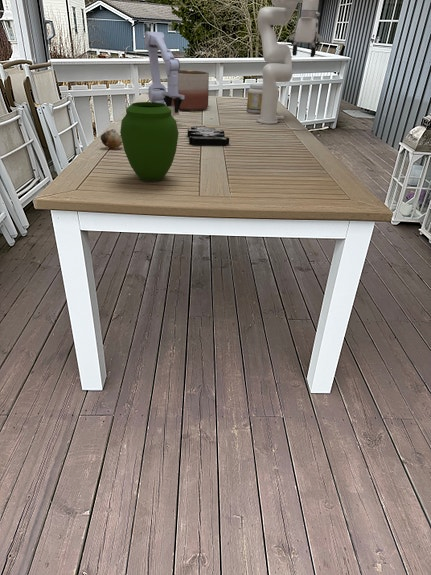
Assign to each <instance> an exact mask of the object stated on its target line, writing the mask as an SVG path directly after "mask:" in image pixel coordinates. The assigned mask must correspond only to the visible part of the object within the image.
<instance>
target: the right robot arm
mask: <svg viewBox="0 0 431 575" xmlns="http://www.w3.org/2000/svg"><path fill="white" fill-rule="evenodd" d="M270 1H271V4H272V5H273V6H263V7H262V8H260V9H259V10H258V14H257V19H256V22H257V28H258V32H259V35H260V39H261V47H262V56H263V60H264V61H265V63H267V64H265V65H264V66H263V68H262V84H263V91H262V102H261V113H259V118H257V119H256V122H257V123H259V124H266V125H275V124H278V122H279V120H284V115H278V114H277V111H278V102H279V92H280V91H279V87H278V84H277V83H288V82H290V81H291V80H292V78H293V73H294V71H293V69H294V68H293V60H292V56H297V54H298V45H299V43H305V44H311V50H310V56H309V57H310V58H314V57H315V56H316V52H317V48H318V46H320V45H321V43H322V42H323V39H324V37H323V36H322V35H320V34H319V19H318V17H320V15H321V12H319V4H320V0H270ZM298 4H301V11H300V18H299V19H298V22H297V25H296V30H295V32H293V33H292V34H290V35H289V36H288V37H289V38H288V39H289V42H290V44H291V46H292V52H291V48H290V46H289V45H287V44H283V43H278V40H277V33H276V32H275V30H274V28H272V26H282V27H284V26H287V24H288V23H289V22H290V20H291V18H292V16H293V14H294V12H295V10H296V9H297V7H298Z"/></svg>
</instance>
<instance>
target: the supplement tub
mask: <svg viewBox="0 0 431 575" xmlns="http://www.w3.org/2000/svg"><path fill="white" fill-rule="evenodd" d="M262 91H263V83H250V84H249V88H248V90H247V102H246V111H247V112H248V113H250V114H251V113H252V114H260V113H261V102H262Z"/></svg>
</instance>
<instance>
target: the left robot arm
mask: <svg viewBox="0 0 431 575" xmlns="http://www.w3.org/2000/svg"><path fill="white" fill-rule="evenodd" d="M143 37H144V38H143V39H144V47H145V50H146V51H147V53H148V59H149V68H150V75H151V82H152V83H151V85H149V86H148V89H147V90H148V92H147V93H148V94H147V95H148V100H149V102H156V103H162V104H165V105H166V106H167V107H168V106H171V103H172V98H176V99H173V101H174V106H175V113H178V111H179V112H180V110H179V107H180V104H181V102H182V99H185V95H181V94H179V93H178V71H179V70H181V62H180V60H179V58H176V57H175V56H174V54H173V52H172V50H171V49H169V48H168V47H167V45H166V42H165V40H166V38H165V34H164V33H163V32H162V31H149V30H146V31H145V33H144V36H143ZM159 51H160V56H161V59H162V60H163V62H164V67H165V68H164V69H165V74H166V76H167V83H166V84H167V88H166V86H165V84H163V83H162V80H161V70H160V64H159V55H158V52H159ZM172 96H175V97H172Z"/></svg>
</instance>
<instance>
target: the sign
mask: <svg viewBox="0 0 431 575" xmlns="http://www.w3.org/2000/svg"><path fill="white" fill-rule="evenodd" d="M187 138H188V144H189V145H192V146H212V147H213V146H215V147H216V146H217V147H222V146H223V147H226V146H227V145H228V146H229V145H230V137H229V136H226V135H225V131H224V130H222V129H216V128H214V127H207V126H206V125H200V126H198V125H196V126H191V127H190V129H189V128H188V129H187Z"/></svg>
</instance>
